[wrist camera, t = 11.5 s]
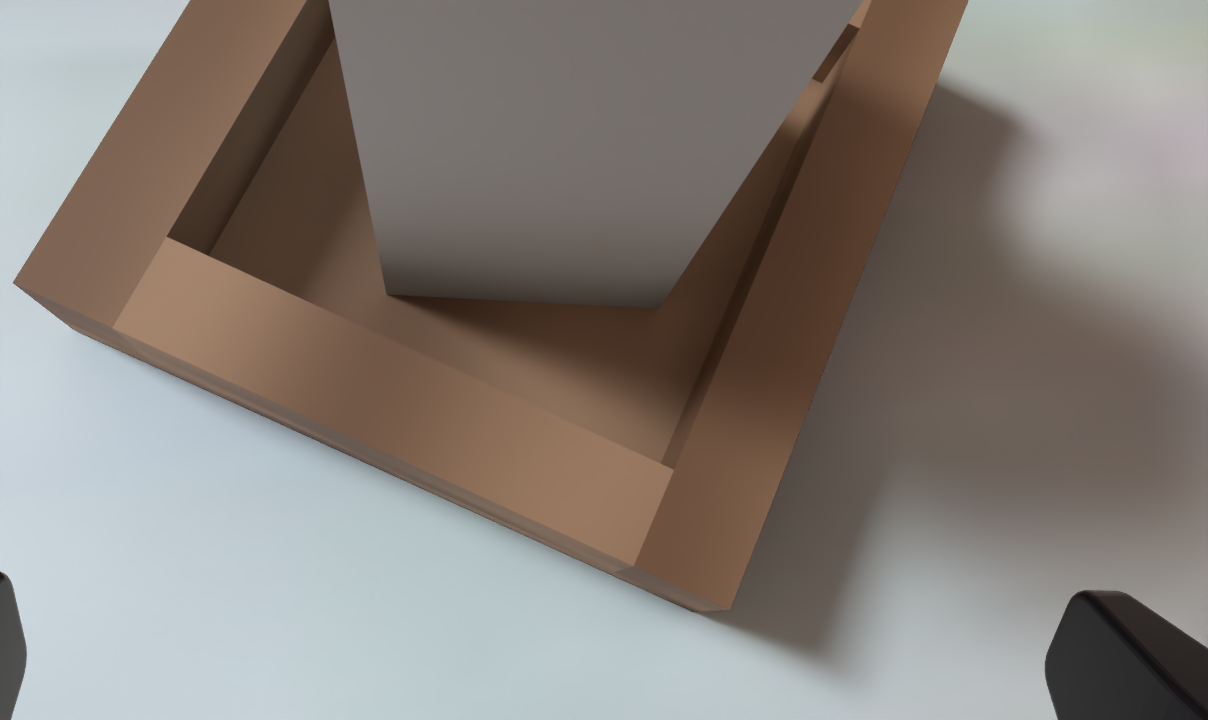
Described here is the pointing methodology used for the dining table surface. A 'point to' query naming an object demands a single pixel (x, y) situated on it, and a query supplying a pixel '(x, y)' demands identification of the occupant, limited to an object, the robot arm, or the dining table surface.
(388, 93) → the peg block
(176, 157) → the square holder
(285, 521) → the dining table surface
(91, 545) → the dining table surface
